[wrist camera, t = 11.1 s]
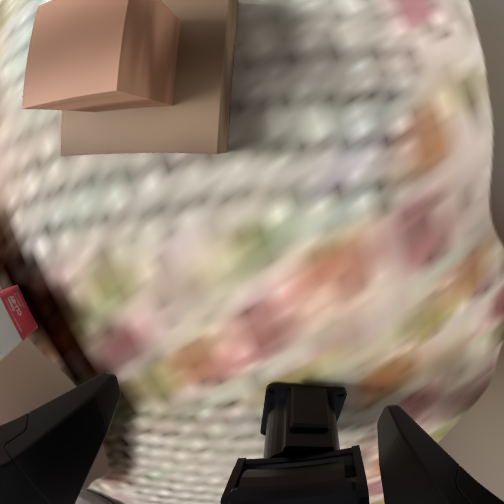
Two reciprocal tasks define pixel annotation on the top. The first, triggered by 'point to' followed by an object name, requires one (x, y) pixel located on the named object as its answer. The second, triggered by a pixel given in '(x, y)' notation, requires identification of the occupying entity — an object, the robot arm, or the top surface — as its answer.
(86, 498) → the coffee pot
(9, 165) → the top surface
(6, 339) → the ink box
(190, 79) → the tan square slab
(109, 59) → the terracotta cube
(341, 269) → the top surface
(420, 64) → the top surface
